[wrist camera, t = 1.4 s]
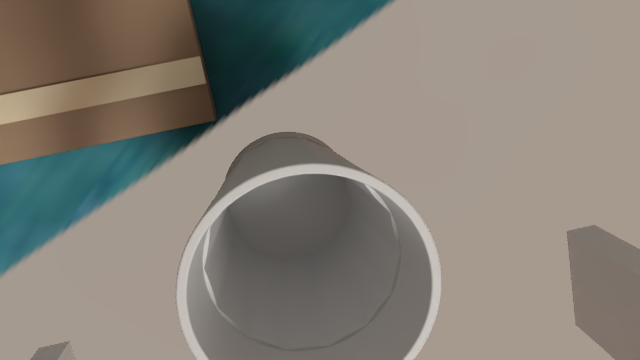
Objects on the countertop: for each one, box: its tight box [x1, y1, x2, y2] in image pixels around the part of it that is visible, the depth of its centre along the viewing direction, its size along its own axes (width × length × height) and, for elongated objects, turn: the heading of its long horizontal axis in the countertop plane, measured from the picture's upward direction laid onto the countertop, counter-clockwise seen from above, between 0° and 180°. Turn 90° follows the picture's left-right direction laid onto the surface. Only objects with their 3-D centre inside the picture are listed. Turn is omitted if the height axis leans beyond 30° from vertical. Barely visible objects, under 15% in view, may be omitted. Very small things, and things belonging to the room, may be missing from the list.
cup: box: [176, 132, 441, 360], centre depth 23 cm, size 8×8×12 cm
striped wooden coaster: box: [0, 0, 217, 165], centre depth 25 cm, size 11×11×2 cm
